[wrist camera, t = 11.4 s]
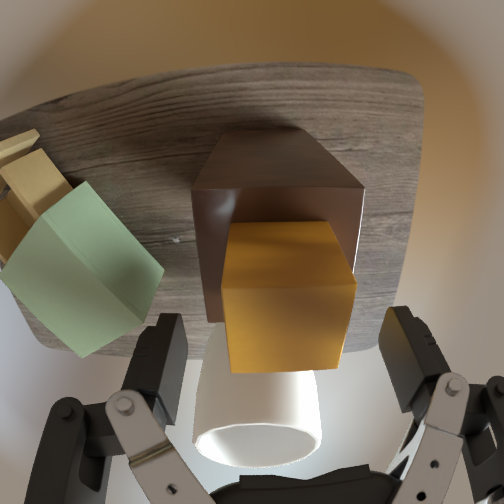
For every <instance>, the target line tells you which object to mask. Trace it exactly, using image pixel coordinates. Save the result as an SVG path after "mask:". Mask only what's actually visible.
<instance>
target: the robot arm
mask: <svg viewBox="0 0 504 504" xmlns="http://www.w3.org/2000/svg"><path fill="white" fill-rule="evenodd" d="M378 342H379V349H380V351H381V354H382V357H383V359H384V362H385V365H386V367H387V370H388V373H389V376H390V379H391V382H392V385H393V387H394V390H395V393H396V396H397V399H398V402H399V405H400V408H401V411H402V413H406V412H410V411H412V413H413V416H414V417H413V418H412V420H411V422H410V425H409V427H408V429H407V431H406V434H405V436H404V438H403V440H402V443H401V445H400V447H399V449H398V451H397V453H396V455H395V457H394V459H393V461H392V462H391V463H390V465H389V466H388V468H387V470H386V471H385V473H382V472H377V471H370V469H369V464H365V465H360V466H354V467H348V468H341V469H337V470H334V471H332V472H329V473H326V474H324V475H321V476H318V477H315V478H312V479H308V480H302V479H295V478H288V477H282V476H276V475H240V479H239V480H240V481H239V482H235V483H231V484H228V485H225V486H223V487H221V488H218V489H217V490H215V491H213V492H211V493H210V494H208V493H207V492H206V490H205V489H204V488H203V486H202V485H201V484H200V482H199V481H198V480H197V478H196V477H195V476H194V475H193V473H192V472H191V470H190V469H189V468H188V466H187V465H186V463H185V462H184V461H183V459H182V458H181V457H180V455H179V453H178V452H177V450H176V449H175V447H174V446H173V445H172V443H171V442H170V441H169V439H168V438H167V436H166V434H165V427H166V425H175V421H176V415H177V410H178V404H179V398H180V393H181V387H182V382H183V376H184V371H185V366H186V361H187V355H188V343H187V338H186V334H185V329H184V325H183V320H182V316H181V314H180V313H161V314H160V316H159V318H158V321H157V324H156V326H148V327H147V328H146V329H145V330H144V331H143V332H142V333H141V334H140V336H139V338H138V341H137V344H136V348H135V350H134V353H133V357H132V358H131V361H130V364H129V367H128V370H127V373H126V376H125V379H124V382H123V385H122V388H121V390H120V391H118V392H116V393H114V394H113V395H112V396H111V397H110V398H109V399H108V401H106V402H104V403H97V404H90V405H82V404H81V402H80V401H79V400H78V399H76V398H73V397H65V398H62V399H60V400H58V401H57V402H55V404H54V405H53V406H52V408H51V410H50V413H49V416H48V419H47V422H46V425H45V428H44V431H43V434H42V437H41V441H40V444H39V447H38V451H37V454H36V457H35V461H34V464H33V468H32V472H31V476H30V480H29V484H28V488H27V493H26V497H25V501H24V504H105V499H106V492H107V486H108V479H109V473H110V467H111V461H112V456H115V455H123V454H126V455H127V457H128V459H129V466H130V468H131V470H132V472H133V474H134V476H135V478H136V479H137V481H138V483H139V485H140V486H141V488H142V490H143V492H144V493H145V495H146V497H147V498H148V500H149V501H150V503H151V504H442V503H443V500H444V498H445V496H446V493H447V490H448V488H449V485H450V482H451V479H452V477H453V474H454V471H455V468H456V465H457V462H458V459H459V456H460V452H461V450H462V454H463V457H464V461H465V465H466V469H467V473H468V477H469V481H470V485H471V490H472V494H473V499H474V503H475V504H504V377H502V376H494V377H491V378H490V379H489V380H488V382H487V383H486V385H480V384H468V382H467V381H466V380H465V378H464V377H462V376H461V375H459V374H457V373H453V372H451V370H450V368H449V366H448V364H447V362H446V360H445V358H444V356H443V354H442V352H441V350H440V348H439V347H438V345H437V344H436V341H435V339H434V337H432V333H431V332H430V330H429V328H428V326H427V325H426V324H425V323H424V322H423V321H422V320H421V319H419V318H418V317H413V315H412V313H411V311H410V309H409V308H408V307H407V306H396V307H389V308H388V309H387V311H386V314H385V318H384V321H383V324H382V327H381V330H380V333H379V339H378ZM489 425H491V427H492V430H493V433H494V436H495V439H496V442H497V449H496V447H495V444H494V441H493V438H492V435H491V432H490V429H489Z"/></svg>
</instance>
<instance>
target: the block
mask: <svg viewBox="0 0 504 504" xmlns="http://www.w3.org/2000/svg"><path fill="white" fill-rule="evenodd" d="M356 289H357V282H356V280H355V277H354V275H353V273H352V271H351V269H350V266H349V264H348V262H347V260H346V258H345V256H344V254H343V251H342V249H341V247H340V245H339V243H338V241H337V239H336V237H335V235H334V233H333V231H332V229H331V227H330V225H329V223H328V222H327V221H307V222H249V223H230V227H229V234H228V241H227V248H226V255H225V262H224V269H223V276H222V283H221V295H222V304H223V313H224V322H225V331H226V339H227V348H228V356H229V364H230V372H231V373H274V372H297V371H313V370H326V369H337V368H338V365H339V361H340V357H341V353H342V350H343V346H344V342H345V338H346V334H347V329H348V325H349V321H350V317H351V312H352V308H353V303H354V298H355V293H356Z"/></svg>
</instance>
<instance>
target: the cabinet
mask: <svg viewBox="0 0 504 504" xmlns="http://www.w3.org/2000/svg"><path fill="white" fill-rule="evenodd" d="M163 272H164V269H163V268H162V267H161V266H160V265H159V263H158V262H157V261H156V260H155V259H154V258H153V257H152V256H151V255H150V254H149V253H148V252H147V251H146V249H145V248H144V247H143V246H142V245H141V244H140V243H139V242H138V241H137V239H136V238H135V237H134V236H133V235H132V234H131V233H130V232H129V231H128V229H127V228H126V227H125V226H124V225H123V224H122V223H121V221H120V220H119V219H118V218H117V217H116V216H115V215H114V213H113V212H112V211H111V210H110V209H109V208H108V206H107V205H106V204H105V203H104V202H103V201H102V199H101V198H100V197H99V196H98V195H97V193H96V192H95V191H94V190H93V189H92V187H91V186H90V185H89V184H88V182H87V181H85V182H83V183H82V184H80V185H79V186H78V187H76V188H75V189H73V190H72V191H71V192H69V193H68V194H67V195H65V196H64V197H63V198H62V199H60V200H59V201H58V202H56V203H55V204H54V205H53V206H51V207H50V208H49V209H47V210H46V211H45V212H44V213H43V214H41V215H40V217H39V218H38V219H37V221H36V222H35V223H34V224H33V226H32V227H31V228H30V230H29V231H28V233H27V234H26V235H25V237H24V238H23V239H22V241H21V242H20V244H19V245H18V247H17V248H16V249H15V251H14V252H13V254H12V255H11V257H10V258H9V260H8V261H7V263H6V264H5V266H4V268H3V269H2V271H1V272H0V279H1V280H2V281H3V282H4V283H5V285H6V286H7V287H8V288H9V289H10V290H11V291H12V292H13V294H14V295H15V296H16V297H17V298H18V299H19V300H20V301H21V302H22V303H23V304H24V305H25V306H26V307H27V308H28V309H29V310H30V311H31V312H32V313H33V314H34V315H35V316H36V317H37V318H38V319H39V320H40V321H41V322H42V323H43V324H44V325H45V326H46V327H47V328H48V329H49V330H50V331H51V332H52V333H54V334H55V335H56V336H57V337H58V338H59V339H60V340H61V341H62V342H64V343H65V344H66V345H67V346H68V347H69V348H70V349H72V350H73V351H74V352H75V353H76V354H77V355H79V356H80V357H81V358H83V357H85V356H87V355H88V354H90V353H92V352H94V351H95V350H97V349H99V348H101V347H102V346H104V345H106V344H108V343H109V342H111V341H113V340H115V339H116V338H118V337H120V336H122V335H123V334H125V333H127V332H129V331H130V330H132V329H134V328H136V327H137V326H139V325H141V324H143V323H144V321H145V318H146V316H147V313H148V310H149V308H150V305H151V303H152V300H153V297H154V295H155V292H156V290H157V287H158V285H159V282H160V280H161V277H162V275H163Z"/></svg>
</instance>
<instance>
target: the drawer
mask: <svg viewBox="0 0 504 504" xmlns="http://www.w3.org/2000/svg"><path fill="white" fill-rule="evenodd" d="M39 136H40V135H39V133H38V132H37V131H36V129H32V130H30V131H27V132H24V133H21V134H19V135H16V136H14V137H11V138H8V139H6V140H4V141H1V142H0V194H1V193H2V191H3V190H4V188H5V186H6V185H7V184H8V185H9V186H10V188H11V190H10V191H9V193H8V194H7V196H6V198H4V199H3V200H1V201H0V259H1V260H2V262H3V263H4V264H6V263H7V261H8V260H9V258H10V257H11V255H12V254H13V252H14V251H15V249H16V248H17V247H18V245H19V244H20V242H21V241H22V239H23V238H24V237H25V235H26V234H27V233H28V231H29V230H30V228H31V227H32V226H33V224H34V223H35V222H36V221H37V219H38V218H39V217H40V215H41V214H43V213H44V212H45V211H46V210H47V209H49V208H50V207H51V206H53V205H54V204H55V203H56V202H58V201H59V200H60V199H62V198H63V197H64V196H65V195H67V194H68V193H69V192H71V191H72V190H73V188H72V187H71V185H70V184H69V183H68V182H67V180H66V179H65V178H64V177H63V175H62V174H61V173H60V172H59V170H58V169H57V168H56V167H55V165H54V164H53V163H52V161H51V160H50V159H49V157H48V156H47V155H46V154H45V152H44V151H43V150H42V148H40V149H38V150H36V151H34V152H32V153H29V154H27V153H28V151H29V150H30V148H31V147H32V146H33V144H34V143H35V141H36V140H37V139H38V137H39ZM26 154H27V155H26Z"/></svg>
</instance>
